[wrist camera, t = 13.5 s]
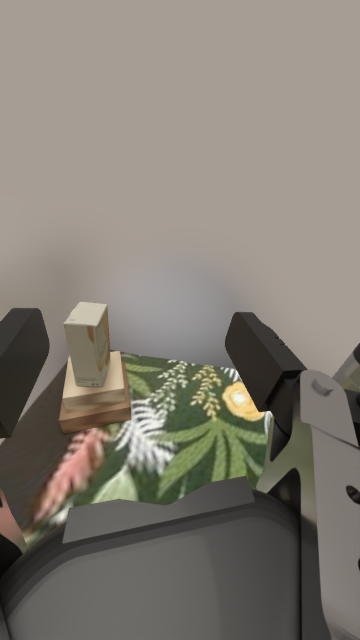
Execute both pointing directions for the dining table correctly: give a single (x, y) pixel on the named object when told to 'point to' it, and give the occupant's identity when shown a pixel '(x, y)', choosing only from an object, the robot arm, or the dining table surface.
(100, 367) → the skincare box
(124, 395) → the stepped wooden pedestal
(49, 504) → the dining table surface
